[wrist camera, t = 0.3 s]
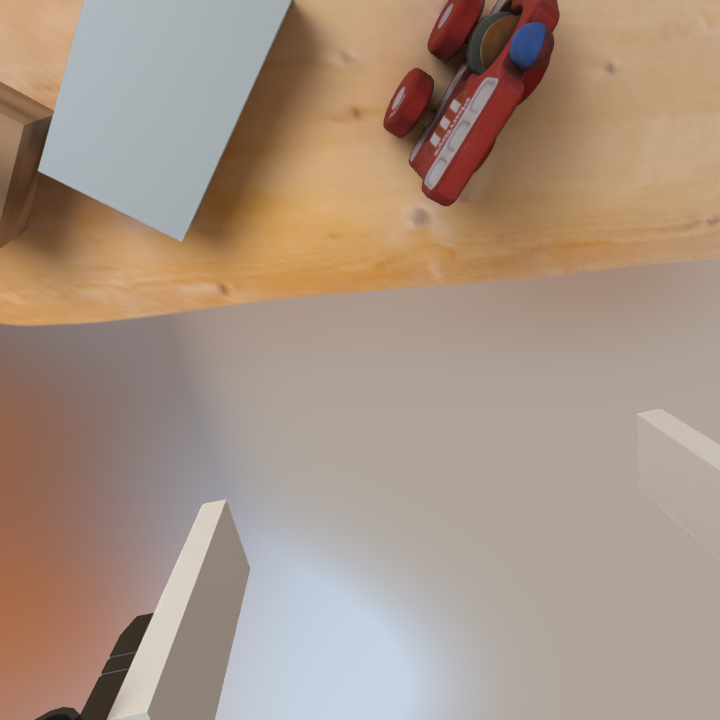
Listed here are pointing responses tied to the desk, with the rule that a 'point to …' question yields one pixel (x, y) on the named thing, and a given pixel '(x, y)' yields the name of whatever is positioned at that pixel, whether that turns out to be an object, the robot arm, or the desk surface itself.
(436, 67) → the desk surface
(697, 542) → the robot arm
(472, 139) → the toy fire truck
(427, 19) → the desk surface
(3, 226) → the walnut block
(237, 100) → the plinth
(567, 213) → the desk surface
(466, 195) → the desk surface
